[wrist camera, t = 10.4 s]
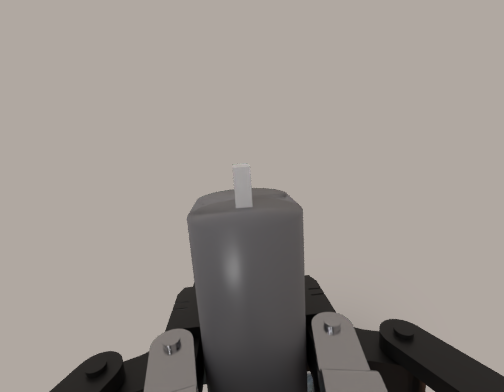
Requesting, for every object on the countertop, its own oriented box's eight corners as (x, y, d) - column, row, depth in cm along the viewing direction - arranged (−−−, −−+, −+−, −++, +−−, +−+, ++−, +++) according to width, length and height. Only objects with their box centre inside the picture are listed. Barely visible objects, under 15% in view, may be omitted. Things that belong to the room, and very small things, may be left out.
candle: (323, 558, 8) (318, 170, 6) (220, 576, 8) (167, 181, 5) (287, 398, 13) (277, 157, 11) (224, 406, 13) (198, 162, 10)
